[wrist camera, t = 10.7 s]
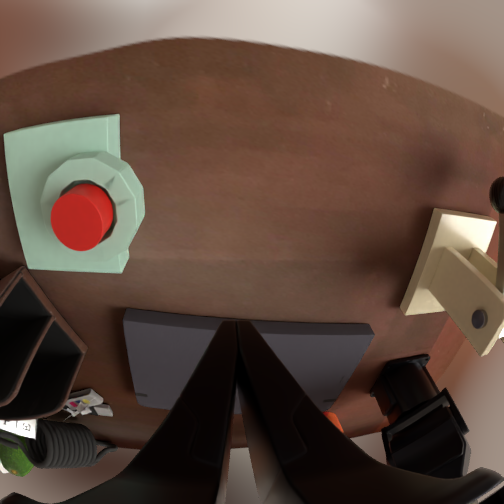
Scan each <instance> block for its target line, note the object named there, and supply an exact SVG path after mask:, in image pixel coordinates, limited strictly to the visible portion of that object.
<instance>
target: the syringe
mask: <svg viewBox="0 0 504 504" xmlns="http://www.w3.org/2000/svg"><path fill="white" fill-rule="evenodd" d="M92 400H93V399H92ZM92 400H91V401H92ZM88 403H89V402H88ZM88 403H87V404H83V403H82V402H80V403H79V405H78V406H77V408H76V409H77V411H76V412H75V411H74V412H73V411H72V410H70V409H68V408H67V411H68V412H70V413H71V414H72V415H73V417H75V416H76V415H77V414H79V413H81V414H82V415H84V414H88V413H91V411H90V410H89V406H88ZM78 411H79V412H78ZM69 417H70V416H69ZM66 419H67V418H66ZM66 419H65V420H66Z"/></svg>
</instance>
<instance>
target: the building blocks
mask: <svg viewBox="0 0 504 504" xmlns="http://www.w3.org/2000/svg"><path fill="white" fill-rule="evenodd" d="M42 418H45V419H47V417H42ZM36 426H37V419H32V420H21V421H4V420H0V430H2V431H6V432H9V433H12V434H16V435H20V436H24V437H28V438H32V439H35V438H36Z"/></svg>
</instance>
